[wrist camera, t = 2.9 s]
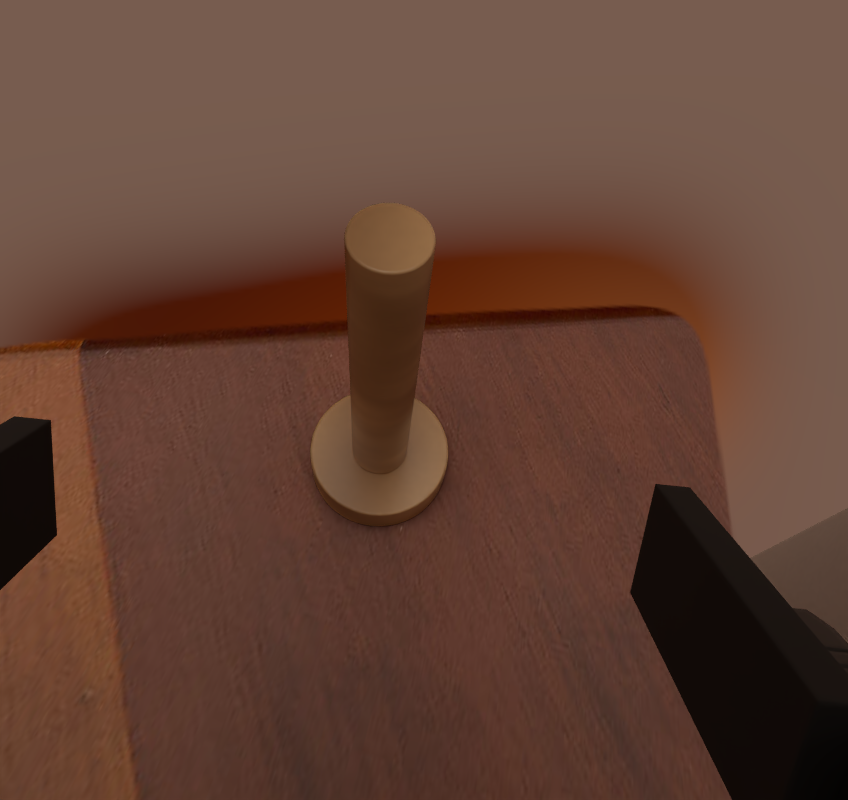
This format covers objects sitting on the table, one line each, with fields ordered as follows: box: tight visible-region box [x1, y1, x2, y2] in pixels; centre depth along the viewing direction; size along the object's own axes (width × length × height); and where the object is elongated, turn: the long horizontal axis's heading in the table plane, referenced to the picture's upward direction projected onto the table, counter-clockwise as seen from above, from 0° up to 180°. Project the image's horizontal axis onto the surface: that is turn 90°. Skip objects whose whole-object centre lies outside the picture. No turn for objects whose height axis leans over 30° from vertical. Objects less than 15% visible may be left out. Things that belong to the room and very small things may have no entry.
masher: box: [310, 203, 448, 526], centre depth 23 cm, size 6×6×14 cm
